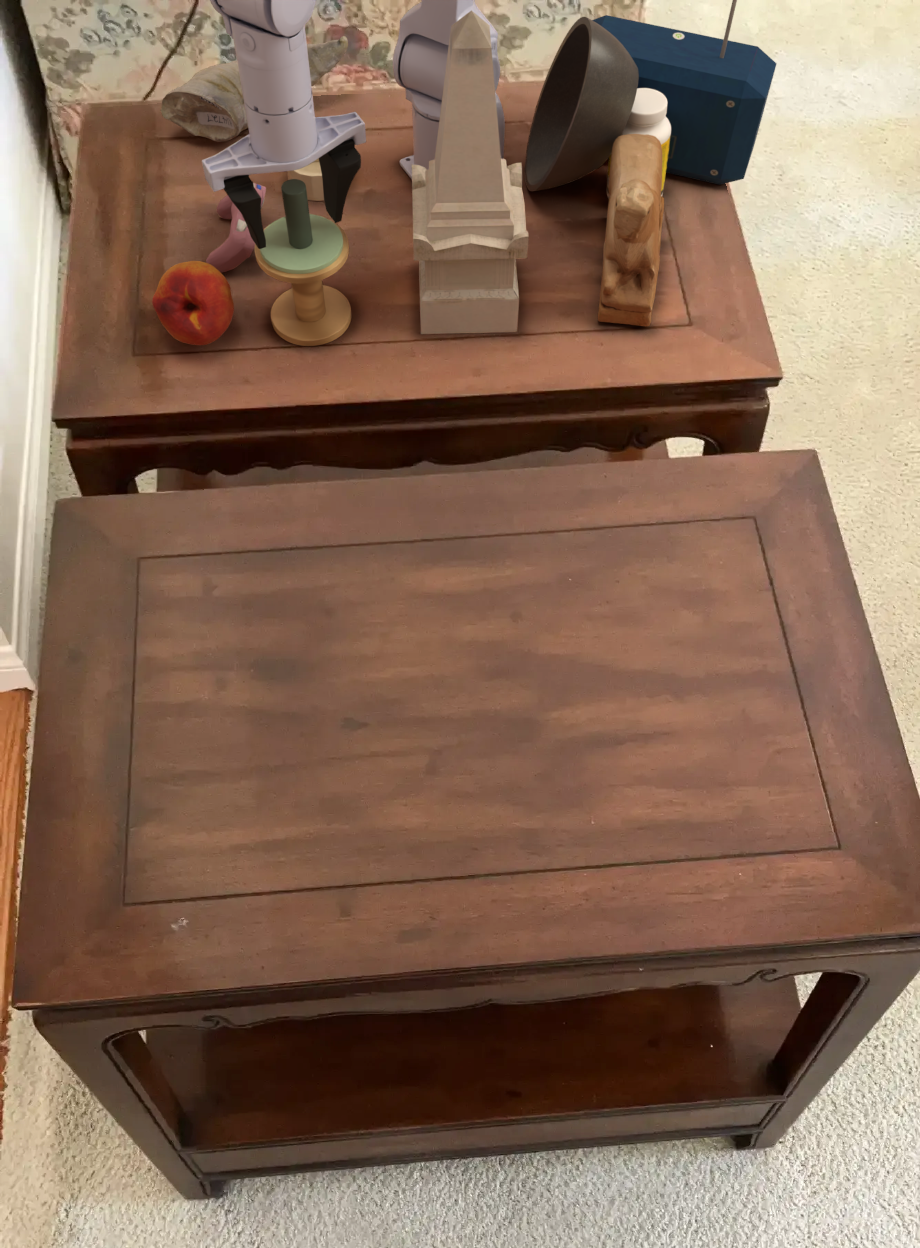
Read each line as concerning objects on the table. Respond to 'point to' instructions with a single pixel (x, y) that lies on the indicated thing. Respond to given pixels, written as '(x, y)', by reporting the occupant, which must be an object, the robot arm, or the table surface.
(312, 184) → the dish
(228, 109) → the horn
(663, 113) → the pill bottle
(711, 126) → the radio
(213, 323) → the fruit
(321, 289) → the stand
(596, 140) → the bowl
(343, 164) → the robot arm
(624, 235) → the sculpture
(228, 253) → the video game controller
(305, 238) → the cover
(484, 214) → the miniature monument
